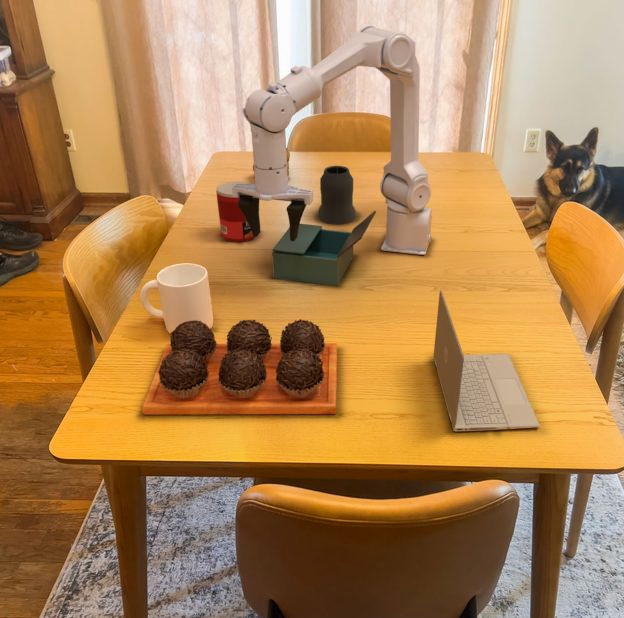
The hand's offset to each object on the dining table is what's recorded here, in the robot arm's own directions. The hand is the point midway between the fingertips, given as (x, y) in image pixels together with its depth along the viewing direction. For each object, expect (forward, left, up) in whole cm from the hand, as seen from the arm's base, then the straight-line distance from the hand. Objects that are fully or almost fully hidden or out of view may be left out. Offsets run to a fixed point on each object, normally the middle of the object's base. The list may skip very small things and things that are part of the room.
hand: (275, 236), depth 124 cm
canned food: (+16, -20, -11) cm, 28 cm away
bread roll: (+20, -53, -6) cm, 57 cm away
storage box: (-5, -10, -10) cm, 15 cm away
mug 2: (-2, -37, -11) cm, 39 cm away
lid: (-13, -9, -2) cm, 16 cm away
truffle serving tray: (-5, +30, -11) cm, 32 cm away
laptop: (-41, +24, -11) cm, 49 cm away
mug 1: (+12, +18, -11) cm, 24 cm away
